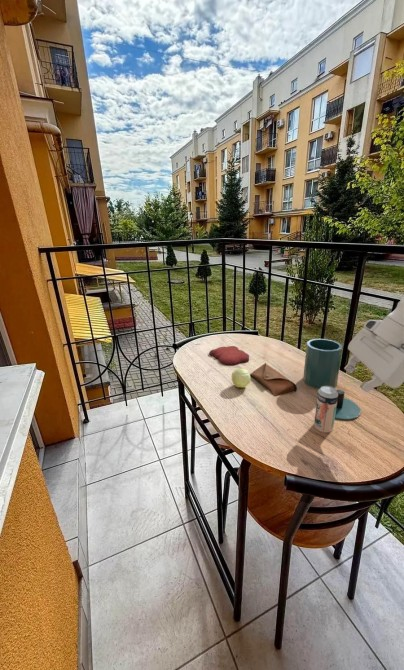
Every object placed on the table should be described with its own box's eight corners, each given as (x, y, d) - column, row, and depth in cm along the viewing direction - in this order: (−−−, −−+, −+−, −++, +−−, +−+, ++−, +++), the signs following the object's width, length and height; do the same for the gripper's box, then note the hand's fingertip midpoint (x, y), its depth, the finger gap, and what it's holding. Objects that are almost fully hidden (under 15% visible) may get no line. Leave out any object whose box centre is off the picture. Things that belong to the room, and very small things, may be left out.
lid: (366, 409, 83) (370, 391, 81) (349, 427, 76) (353, 408, 74) (327, 393, 91) (329, 377, 89) (308, 409, 84) (310, 391, 82)
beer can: (311, 422, 78) (315, 385, 74) (328, 422, 78) (334, 384, 74) (317, 434, 74) (322, 394, 70) (335, 434, 74) (341, 394, 69)
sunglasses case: (246, 373, 105) (254, 358, 104) (260, 378, 109) (268, 363, 108) (276, 397, 90) (286, 379, 89) (290, 402, 93) (300, 385, 92)
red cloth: (206, 352, 126) (206, 348, 126) (232, 346, 132) (232, 342, 131) (226, 367, 112) (226, 363, 111) (254, 360, 117) (255, 355, 116)
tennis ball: (254, 387, 97) (254, 370, 94) (239, 393, 94) (239, 375, 91) (242, 380, 102) (242, 363, 100) (227, 385, 99) (227, 368, 96)
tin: (341, 382, 98) (347, 344, 93) (327, 394, 91) (333, 354, 86) (312, 372, 105) (316, 336, 100) (297, 383, 99) (300, 345, 93)
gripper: (435, 362, 58) (386, 409, 62) (382, 330, 77) (348, 368, 81) (411, 347, 57) (364, 396, 62) (364, 318, 76) (331, 357, 81)
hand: (354, 380), depth 72 cm, fingers open, 8 cm apart
